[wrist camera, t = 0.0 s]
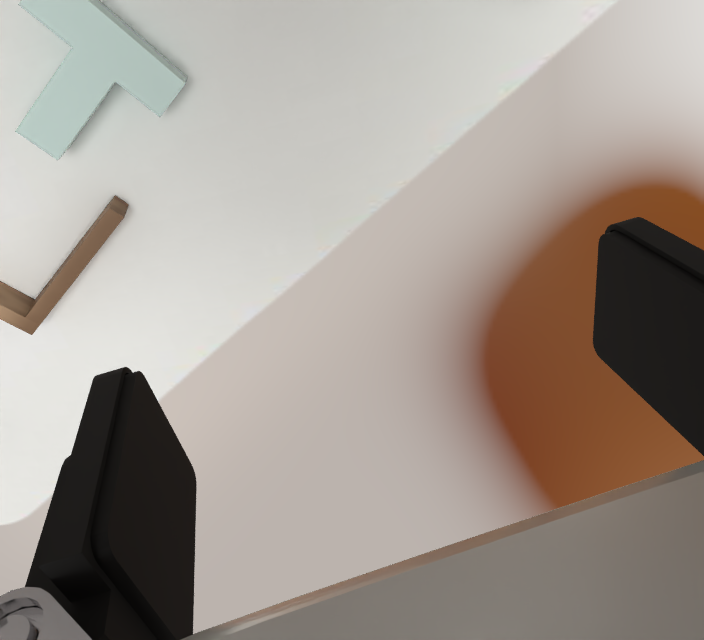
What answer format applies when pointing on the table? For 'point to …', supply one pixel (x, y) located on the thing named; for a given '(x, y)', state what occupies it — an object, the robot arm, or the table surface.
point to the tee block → (93, 71)
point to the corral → (60, 274)
